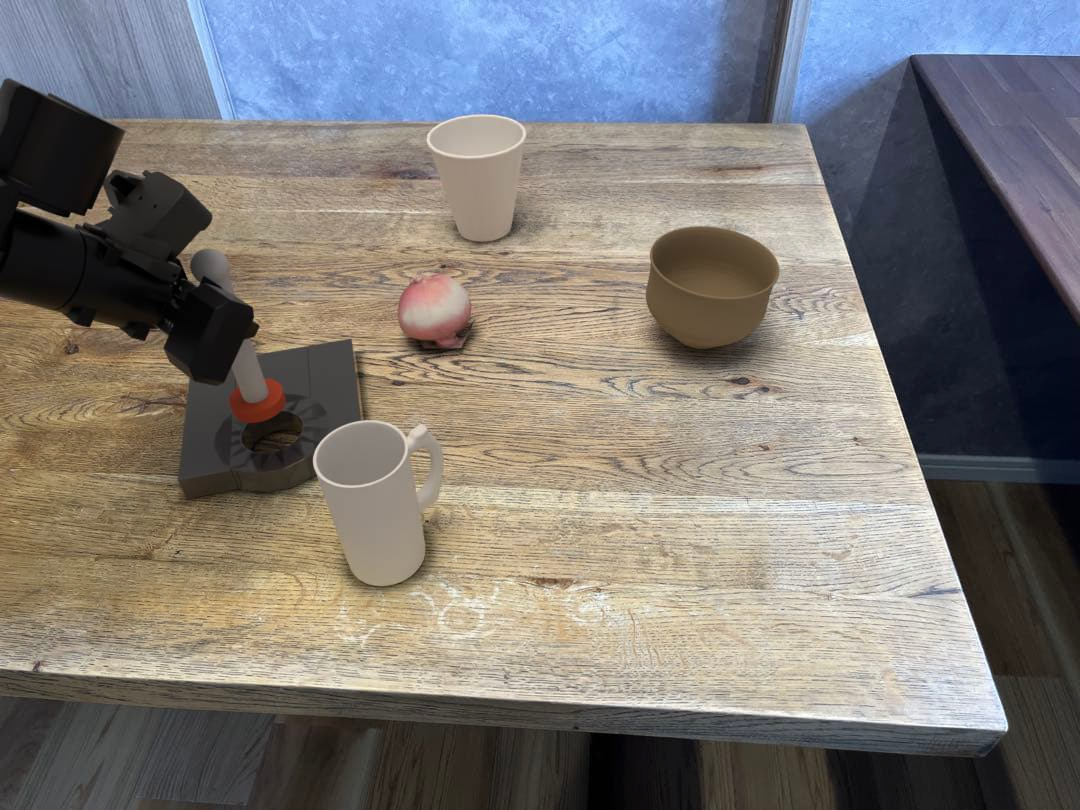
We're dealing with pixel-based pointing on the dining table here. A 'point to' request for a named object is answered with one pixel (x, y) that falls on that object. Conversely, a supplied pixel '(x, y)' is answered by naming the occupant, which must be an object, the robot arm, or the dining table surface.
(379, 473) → the mug
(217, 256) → the stopper
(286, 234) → the dining table surface
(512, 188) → the cup
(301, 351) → the sink board
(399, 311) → the onion
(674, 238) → the bowl
